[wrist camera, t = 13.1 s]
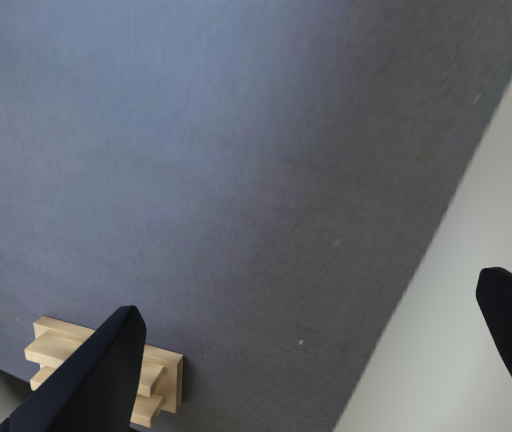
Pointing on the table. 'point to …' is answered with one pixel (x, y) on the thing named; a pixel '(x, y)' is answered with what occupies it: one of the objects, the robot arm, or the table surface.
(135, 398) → the robot arm
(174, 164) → the table surface
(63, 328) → the stand
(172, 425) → the table surface
